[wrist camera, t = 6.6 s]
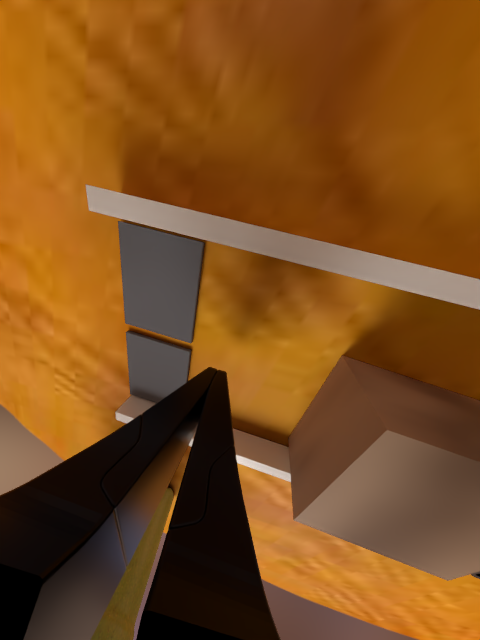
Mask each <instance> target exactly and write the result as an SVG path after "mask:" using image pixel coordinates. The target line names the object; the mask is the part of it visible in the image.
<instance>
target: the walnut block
mask: <svg viewBox="0 0 480 640" xmlns="http://www.w3.org/2000/svg"><path fill="white" fill-rule="evenodd" d="M288 443H289V458H290V473H291V488H292V503H293V518H294V521H297V522H299V523H302V524H305V525H307V526H310V527H312V528H315V529H317V530H320V531H322V532H325V533H328V534H330V535H333V536H335V537H338V538H340V539H343V540H345V541H348V542H351V543H353V544H356V545H358V546H361V547H363V548H366V549H368V550H371V551H373V552H376V553H379V554H381V555H384V556H386V557H389V558H391V559H394V560H396V561H399V562H402V563H404V564H407V565H409V566H412V567H414V568H417V569H419V570H422V571H425V572H427V573H430V574H432V575H435V576H437V577H440V578H442V579H445V580H452V579H455V578H459V577H462V576H465V575H469V574H472V573H476V572H479V571H480V401H479V400H476V399H473V398H470V397H467V396H464V395H461V394H458V393H455V392H452V391H449V390H446V389H443V388H440V387H437V386H434V385H431V384H428V383H425V382H422V381H419V380H416V379H413V378H410V377H407V376H403V375H400V374H397V373H394V372H391V371H388V370H385V369H382V368H379V367H376V366H373V365H370V364H367V363H364V362H361V361H358V360H355V359H352V358H349V357H346V356H343V355H342V356H341V358H340V359H339V361H338V362H337V364H336V365H335V367H334V369H333V370H332V372H331V373H330V375H329V376H328V378H327V379H326V381H325V382H324V384H323V385H322V387H321V389H320V390H319V392H318V393H317V395H316V396H315V398H314V399H313V401H312V402H311V404H310V406H309V407H308V409H307V410H306V412H305V413H304V415H303V416H302V418H301V419H300V421H299V422H298V424H297V426H296V427H295V429H294V430H293V432H292V433H291V435H290V436H289V438H288Z"/></svg>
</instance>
